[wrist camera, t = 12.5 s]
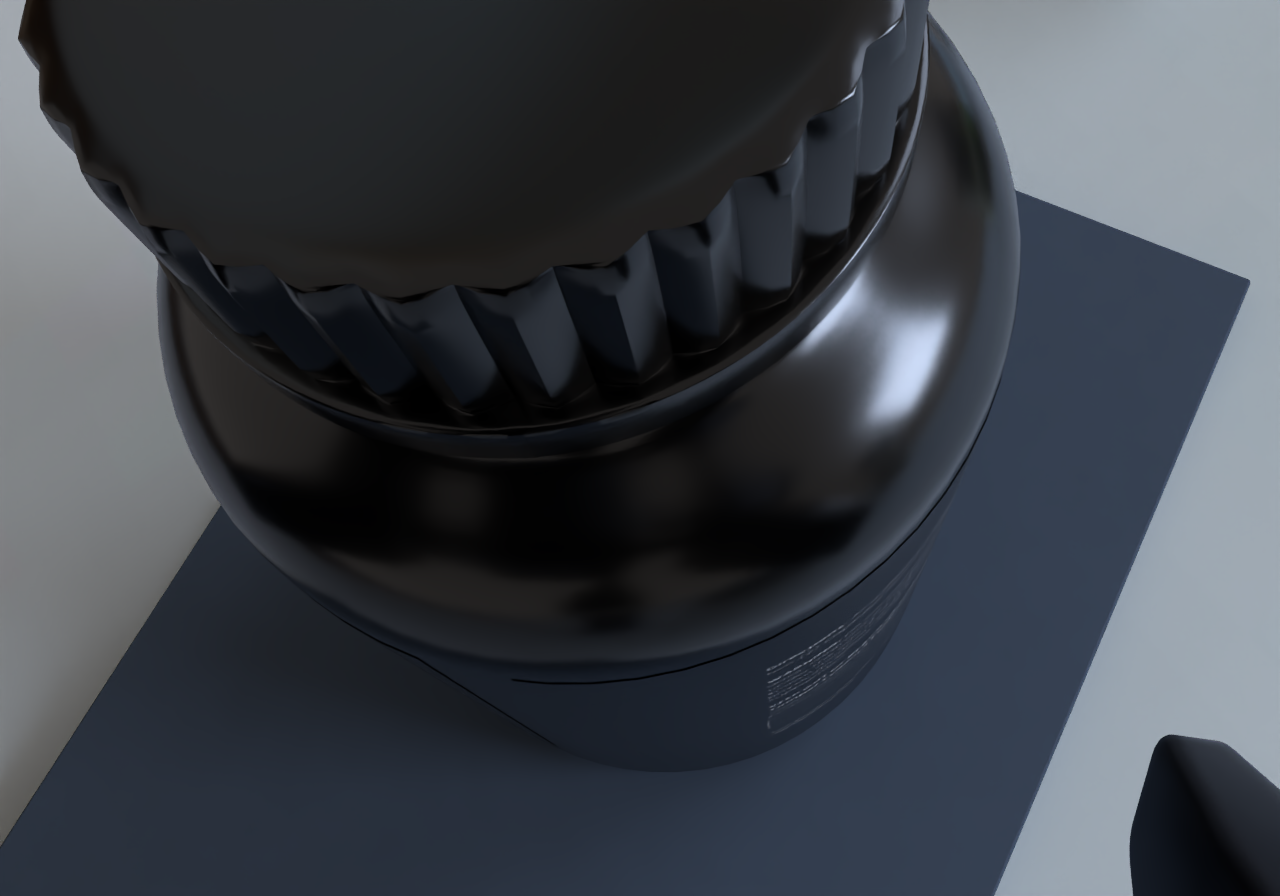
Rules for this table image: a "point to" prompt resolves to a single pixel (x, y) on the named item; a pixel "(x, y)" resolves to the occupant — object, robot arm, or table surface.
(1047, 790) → the table surface
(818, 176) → the supplement bottle
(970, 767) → the rubber mat
